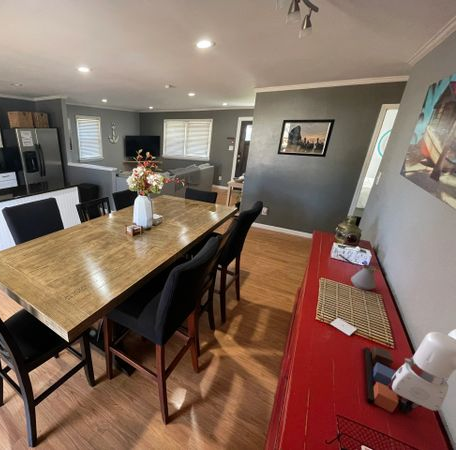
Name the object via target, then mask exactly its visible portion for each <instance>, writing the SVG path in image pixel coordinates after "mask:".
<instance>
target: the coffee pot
mask: <svg viewBox="0 0 456 450" xmlns="http://www.w3.org/2000/svg"><path fill="white" fill-rule="evenodd" d="M338 257H340V258H342V259H343V260H344V261H345V262H347V263H349V264H350V265H352V266H353V267H354V268H356V269H358V270H359V271H358V272H356V273H355V274H354V275H353V276H351V277H350V281H351V283H352V284H353V286H354V287H356V288H358V289H359V290H362V291H371V290H374V289H375V288H376V287H377V283H376V279H375V277H376V276H375V272H377V270H378V269H377V268H376V267H374V266H372V265H370V264H362V265H361V268H360V267H359V266H357V264H355V263H354V262H352V261H351V260H350V259H348V258H346V257H345V256H344V255H342V254H340V253H339V254H338V255H337V258H338Z"/></svg>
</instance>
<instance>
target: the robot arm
mask: <svg viewBox="0 0 456 450" xmlns="http://www.w3.org/2000/svg"><path fill="white" fill-rule="evenodd" d="M403 362H404V363H403V364H402V365H401V366H400V367H399V368H398V369H397V370H395V374H394V375H393V377H392V379H391V381H392V382H391V383H389V384H388V388H389V389H390V390H392V391H393V392H395V393H396V394H397V397H398V405H397V406H396V407H398V410H399V412H400V413H403V415H406V416H407V415H408V413H411V412H412V411H413V409H418V408H426V409H428V410H430V411H435V412H437V411H438V410H440V408H441V407H442V405H443V403H444V401H445V399H446V396H447V394H448V390H449V384H448V380H449V378H450V377H451V376H452V374H453V373H454V372H455V371H456V328H454V329H453V330H451V331H450V332H448V334H446V333H443V332H438V331H431V332H428V333H427V334H426V335H425V336H424V338H423V339H422V341H421V342H420V344H419V346H418V348H417V349H416V351H415V353H414V354H413V356H411V357H410V358H408V357H404V358H403Z"/></svg>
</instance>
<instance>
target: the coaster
mask: <svg viewBox="0 0 456 450" xmlns="http://www.w3.org/2000/svg"><path fill="white" fill-rule="evenodd" d="M329 324H330V325H331V326H333V327H334V328H336V329H337V330H339V331H341V332H342V333H344V334H346V335H347V336H351V335H352V334H353V333H354V332H356V331H357V330H358V328H357V327H355V326H353V325H351V324H350V323H348V322H346V321H345V320H343V319H341V318H339V317H337V318H335V319H334V320H333V321H331V322H330V323H329Z"/></svg>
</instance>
